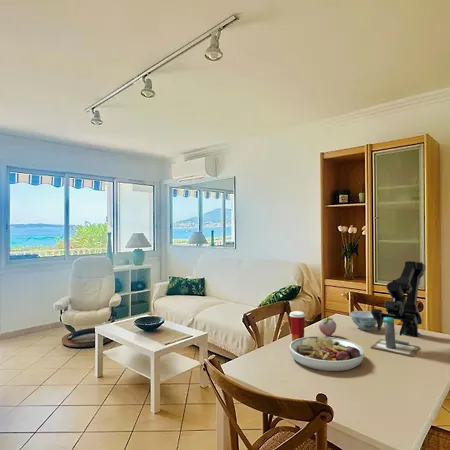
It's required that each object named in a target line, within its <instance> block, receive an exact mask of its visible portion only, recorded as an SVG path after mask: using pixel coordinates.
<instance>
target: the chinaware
mask: <svg viewBox="0 0 450 450" xmlns="http://www.w3.org/2000/svg"><path fill="white" fill-rule="evenodd" d="M349 314H350V317H351V320H352V322H353V323H354V324H355V325H356V326H358V328H359V329H360V330H363V331H364V330H365V331H371V330H372V329H373V328H374V327H375V326H376V325H377V321H376V319H374V317H373V315H372V314H371V311H369V310H354V311H351V312H350V313H349Z"/></svg>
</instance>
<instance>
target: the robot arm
mask: <svg viewBox="0 0 450 450" xmlns="http://www.w3.org/2000/svg"><path fill="white" fill-rule="evenodd" d="M425 271H426V264H424V263H423V262H422V261H421V262H420V261H418V262H417V261H414V260H407V261H405V262H404V267H403V270H402V273H401V275H400V277H398V278H397V279H393V280H392V281H390V282H388V283H387V284H386V289H387V292H388V294H389V296H390V297H391V300H385V301H384V304H383V308H384V309H385V312H383V310H382V309H381V308H372V309H371V311H370V312H371V314H372V315H373V317H374V319H376V321H377V324H376V325H377V331H378V332H380V331H381V329H382V328H383V327H382V326H383V325H384V317H391V318H394V320H397V321H398V320H399V321H400V322H401V323H402V324H401V327H400V329H399V336H400V337H401V336H403V335H405V336H410V337H416V338H417V337H419V336H420V335H421V333H420V332H419V330H418V329H419V327H418V325H422V324H423V323H422V322H423V319H422V316H421V313H420V310H419V308H418V306H417V301H418V294H419V293H418V291H419V285H420V279H421V278H422V277H423V276H424V274H425Z"/></svg>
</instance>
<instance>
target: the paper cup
mask: <svg viewBox="0 0 450 450" xmlns="http://www.w3.org/2000/svg"><path fill="white" fill-rule="evenodd" d="M305 317H306V314H305V313H304V311H301V310H300V311H291V312H290V313H289V318H290V319H289V320H290V331H291V340H292V341H291V342H293V341H294V340H297V339H300V338H304V337H305V323H306V322H305Z"/></svg>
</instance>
